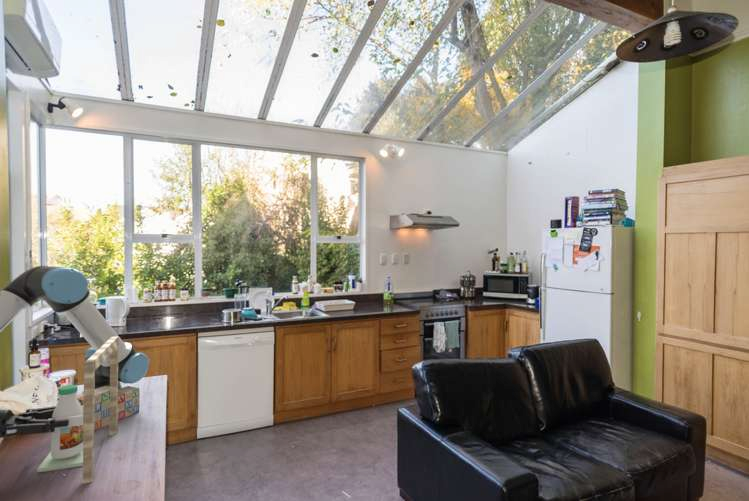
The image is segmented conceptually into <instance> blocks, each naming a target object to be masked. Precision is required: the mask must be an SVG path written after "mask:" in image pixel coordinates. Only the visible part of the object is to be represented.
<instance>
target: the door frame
mask: <svg viewBox="0 0 749 501" xmlns="http://www.w3.org/2000/svg"><path fill="white" fill-rule="evenodd" d="M119 337H120V336H119V335H118V337H111V338H110V339H109V340H108V341H107V342H106V343H105V344H104V345H103V346H101V347H100V348H99V349H98V350H97V351H96V352H95V353H94V354H93V355H92V356H91V357H90V358H89V359H88V360H87V361H85V360H84V361H85V362H84V364H83V367H84V368H83V391H84V423H83V466H82V485H85V484H91V483H93V481H94V471H95V469H94V468H95V467H94V462H95V458H94V457H95V430H94V396H95V370H96V369H97V368H98V367H99V366H100V365H101V364H102V363H103V361H104V360H105V359H106V358H107V357H108V356H109V355H110V409H109V425H108V427H109V428H108V431H109V432H108V433H109V436H114V435H117V432H118V421H117V417H118V339H119Z"/></svg>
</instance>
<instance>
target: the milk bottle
mask: <svg viewBox="0 0 749 501" xmlns="http://www.w3.org/2000/svg"><path fill="white" fill-rule="evenodd" d="M57 393H58V397H59V398H58V401H57V403H56V405H55V406H56V408H55V409H54V412H53V415H52V419H51V420H55V421H56V418H61V417H70V416H80V415H83V410H82V407H81V405H80V403H79V401H78V399H77V396H76V395H78V385H76V384H69V385H68V384H67V385H63V386H61V387H59V388H58V392H57ZM82 449H83V425H80V426H72V427H63V428H55V431H54V432H51V433H50V452H51V456H52V458H54V459H64V458H68V457H72V456H74V455H77V454H78V453H80V452H81V451H82Z"/></svg>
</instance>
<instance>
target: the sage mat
mask: <svg viewBox="0 0 749 501" xmlns="http://www.w3.org/2000/svg"><path fill="white" fill-rule="evenodd" d="M77 467H83V449H82V451H81V452H80V453H78V454H77V455H74V456H72V457H68V458H64V459H54V458H52V456H51V451H50V452H49V453H48V454H47V456H46V457H45V458H44V459H43V461H42V462H41V463H40V465H39V466H38V468H37V470H36V472H37V473H43V472H50V471H56V470H63V469H70V468H77Z"/></svg>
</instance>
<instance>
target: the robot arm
mask: <svg viewBox="0 0 749 501" xmlns="http://www.w3.org/2000/svg"><path fill="white" fill-rule="evenodd" d="M90 296H91V292H90V290H89V280H88V279H87V277H86V275H85V274H84V273H83V272H82V271H81V270H78V269H76V268H72V267H69V266H50V265H38V266H34V267H31V268H29V269H27V270H25V271H24V272H22V273H20V274H19V275H18V276H17V277H15V279H12V281H10V283H9V284H7V285H6V286H5V287H3V288H2V290H1V291H0V333H1V332H2V331H3V330H4V329H6V327H7V326H8V325H9V324H10V323H11V322H12V321H13V320H15V318H16V317H18V315H20V313H22V312H23V310H29V309H30V308H31V307H32V306H34V305H35V304H36V303H37V302H40V301H44V302H45V303H46V304H47V305H48V306H49V307H50V308H51V310H53V312H54V313H56V314H63V315H64V316H65V317H66V318H67V320H69V322H70V323H71V324H72V325H73V326H74V328H75V329H76V330H77V331H78V332H79V334H80V335H81V336H82V337H83V338H84V339H85V341H87V343H88V344H89V345H90V346H91V347H89V348H88V349H86V352H85V358H84V361H87V360H88V359H89V358H90V357H91V356H92V355H93V354H94V353H95V352H96V351H97V350H98V349H99V348H100V347H101V346H103V345H104V344H105V343H106V342H107V341H108V340H109V339H110V338H111V337H118V336H119V335H118V333H117V332H116V331H115V329H114V328H113V327H112V326H111V325H110V323H109V322H108V321H107V319H106V318H105V317H104V316H103V315H102V313H101V312H100V311H99V310H98V308H97V307H96V306H95V304H94V303H93V302H92V301H91V300H90V298H89V297H90ZM149 366H150V359H149V358H148V356H147V355H146V354H145V353H143V352H138V351H137V350H136V348H135V347H134V346H133V345H132V344H131V342H127V341H123V340H122V339H121V337H120V336H119V339H118V389H121V388H123V386H122V384H121V383H123V384H130V385H131V384H135V383H138V382H139V381H141V380H142V379H143V378H145V376H146V374H147V372H148V371H149ZM103 386H110V355H109V356H108V357H107V358H106V359H105V360H104V361H103V363H102V364H101V365H100V366H99V367H98V368H97V369H96V370H95V389H97V388H100V387H103ZM83 393H84V390H82V393H81V394H83ZM56 406H57V405H53V406H46V407H39V408H28V409H26V410H25V411H24V412H19V413H18V414H14V413H13V410H12V409H0V439H3V438H6V437H12V436H20V435H33V434H34V435H35V434H36V435H37V434H49V433H50V434H51V432H54V431H55V428H63V427H72V426H80V425H83V415H84V406H81V407H82V410H83V415H80V416H70V417H61V418H56V421H55V420H52V415H53V412H54V409H55V408H56Z"/></svg>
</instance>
